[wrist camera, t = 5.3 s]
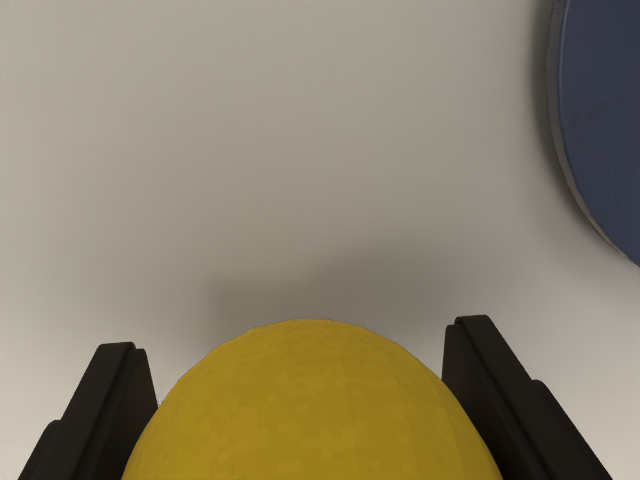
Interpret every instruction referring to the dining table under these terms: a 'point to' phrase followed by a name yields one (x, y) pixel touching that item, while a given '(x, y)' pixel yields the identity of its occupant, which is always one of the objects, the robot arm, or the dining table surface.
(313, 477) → the lemon
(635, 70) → the tin lid
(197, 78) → the dining table surface
